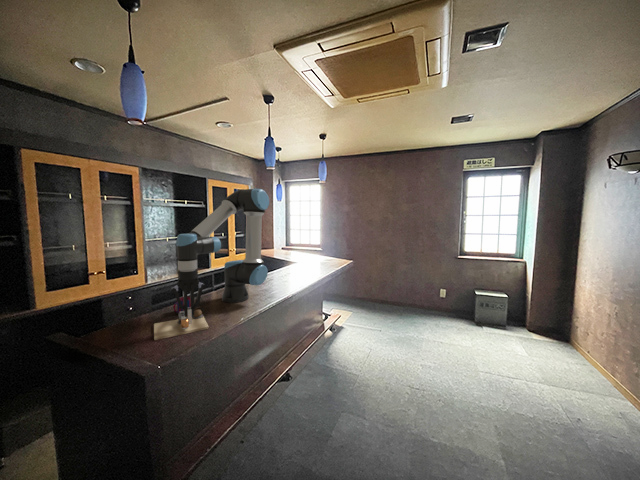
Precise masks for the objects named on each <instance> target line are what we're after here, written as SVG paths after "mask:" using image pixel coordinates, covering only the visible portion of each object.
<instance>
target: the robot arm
mask: <svg viewBox="0 0 640 480" xmlns="http://www.w3.org/2000/svg"><path fill="white" fill-rule="evenodd" d="M269 206H270V197H269V195H268V194H267V192H266V191H265V190H264V189H262V188H245V189H239V190H235V191H234V192H232V193H230V194H229V195H228V196H227V197H225V198H224V199H223V200H222V201H221V204H220V205H219V206H218V207H216V209H215V210H213V211H212V212H211V213H210V214H209V215H208V216H207V217H205V219H203V220H202V221H201V222H200V223H199V224H198V225H196V226H195V227H194V228H193V229H192V230H190V232H189V233H180V234H178V235H177V237H176V240H175V246H176V254H177V255H176V256H177V270H178V271H177V283H176V285H174V286H171V291H172V293H174V295H175V296H174V297H175V298H176V302H178V305H179V308H180V309H184V315H185V317H187V319H189V324H192V316H193V315H194V311H195V308H197V307H199V306H200V301H201V296H202V292H203V290H204V288H205V286H206V285H205V283H203V282H200V280H199V271H198V255H204V254H206V255H207V254H213V253H217V252H219V251H220V250H221V248H222V242H221V240H220V239H219V237H217V236H211V235H212V234H213V233H214V232H215V231H216V230H217V229H218V228H219V227H220V226H221V225H222V224H223V223H224V222H226V220H227V219H229V218H230V217H231V216H232V215H236V213H238V212H239V211H243V214H244V215H245V253H244V256H245V258H244V259H238V260H237V259H235V260H229V261H225V263H224V268H223V270H224V271H223V273H224V289H223V292H222V294H221V295H222V296H221V301H222V302H224V303H231V304H235V303H241V302H244V301H247V300H249V296H250V295H249V291H248V289H247V286H246V285H250V286H261V285H263V284H264V282H265V281H266V279H268V278H267V277H268V274H269V271H268V268H267V266H266V265H264V260H263V259H262V231H263V229H262V228H263V227H262V225H263V224H262V223H263V216H264V215H265V213H266V212H265V211H266V210H267V209H268V208H269ZM197 287H198V289H197V293H196V294H197V295H196V299H195V290H196V288H197ZM179 289H180V290H181V292H183V297H184V305H182V303H181V300H180V298H181V297H180V294H179ZM188 292H189V297H190V304H191V307H190V308H188V302H187V297H188Z"/></svg>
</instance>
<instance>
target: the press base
mask: <svg viewBox="0 0 640 480" xmlns="http://www.w3.org/2000/svg"><path fill="white" fill-rule="evenodd" d="M209 328H210V327H209V325H208V322H207V321H206V318H205V316H204V314H203V312H202V310H201V309H194V315H193V316H192V324H189V327H188V328H186V329H183V328H181V322H179V318H177V319H172V320H167V321H161V322H156V323H154V324H153V339H154V341H157V340H162V339H167V338H172V337H177V336H181V335H185V334H190V333H196V332H200V331H204V330H209Z"/></svg>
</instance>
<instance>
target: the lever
mask: <svg viewBox="0 0 640 480" xmlns="http://www.w3.org/2000/svg"><path fill="white" fill-rule="evenodd" d="M178 319H179V322H181V328H183V329H186V328H188V327H189V319H187V317H185V315H184V311H181V312H179V313H178Z"/></svg>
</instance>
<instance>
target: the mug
mask: <svg viewBox="0 0 640 480" xmlns="http://www.w3.org/2000/svg"><path fill="white" fill-rule="evenodd" d="M180 300H181V303H182V305H184V296H182V297H180ZM187 302H188V308H190V307H191V304H190V296H187ZM176 308H177V309H176ZM172 309H173V312H175V313H177V314H179V312H181V311H184V309H180V308H179V305H178V302H177V301H176V302H175V303H174V304H173V308H172Z"/></svg>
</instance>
